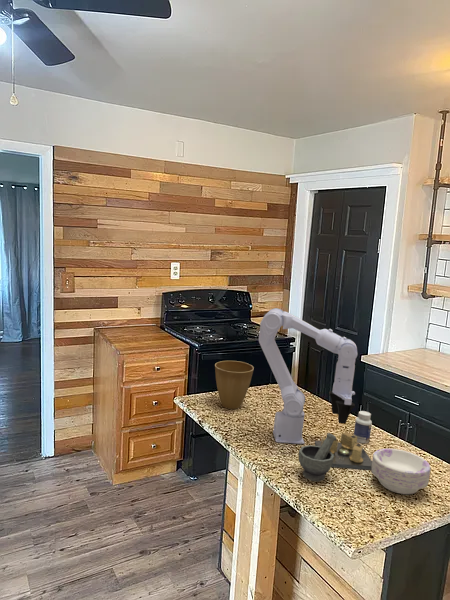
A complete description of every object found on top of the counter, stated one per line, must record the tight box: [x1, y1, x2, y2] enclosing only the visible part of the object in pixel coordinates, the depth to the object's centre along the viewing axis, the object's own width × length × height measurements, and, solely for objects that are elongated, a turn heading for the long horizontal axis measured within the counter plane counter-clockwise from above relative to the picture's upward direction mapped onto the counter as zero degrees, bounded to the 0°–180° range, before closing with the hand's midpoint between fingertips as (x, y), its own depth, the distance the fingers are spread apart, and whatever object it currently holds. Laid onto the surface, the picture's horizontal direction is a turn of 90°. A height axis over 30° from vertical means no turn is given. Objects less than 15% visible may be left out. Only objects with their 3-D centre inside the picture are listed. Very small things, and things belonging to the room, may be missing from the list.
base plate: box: [314, 440, 372, 471], centre depth 146 cm, size 15×15×2 cm
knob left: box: [321, 436, 339, 454], centre depth 146 cm, size 4×4×4 cm
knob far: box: [339, 431, 358, 450], centre depth 150 cm, size 4×4×4 cm
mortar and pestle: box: [298, 432, 337, 483], centre depth 132 cm, size 11×9×12 cm
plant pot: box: [214, 360, 255, 410], centre depth 180 cm, size 15×15×16 cm
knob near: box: [349, 443, 364, 463], centre depth 142 cm, size 4×4×4 cm
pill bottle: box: [353, 410, 373, 444], centre depth 160 cm, size 5×5×10 cm
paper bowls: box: [370, 447, 431, 495], centre depth 131 cm, size 15×15×8 cm
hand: (338, 418), depth 151 cm, fingers open, 7 cm apart
